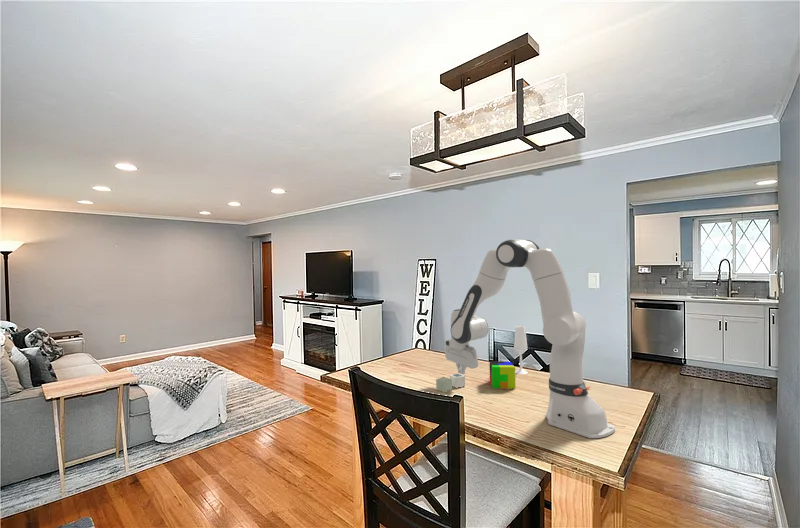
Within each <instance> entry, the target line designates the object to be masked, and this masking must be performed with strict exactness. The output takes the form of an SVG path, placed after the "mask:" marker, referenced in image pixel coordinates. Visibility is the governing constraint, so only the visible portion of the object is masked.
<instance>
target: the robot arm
mask: <svg viewBox="0 0 800 528" xmlns="http://www.w3.org/2000/svg"><path fill="white" fill-rule="evenodd" d="M511 268H527V269H528V270H529V272H530V275H531V278H532V281H533V284H534V288H535V290H536V291H535V292H536V293H537V297H538V301H539V303H540V304H539V305H540V311H541V312H540V313H541V319H542V325H543V327H542V333H543V336H544V339H546V340H547V342H548V343H550V344H552V346H551V352H550V355H549V377H548V378H549V379H548V389H549V397H548V399H549V400H548V406H547V411H546V414H545V418H546V419H547V424H548V425H550V426H553V427H557V428H559V429H562V430H565V431H568V432H571V433H573V434H577V435H580V436H582V437H586V438H588V439H599V438H600V439H601V438H604V437H608V436H611V435H612V434H614V432H615V431H616V427H615V425H613V424H611V423H609V422H608V419H607V414H606V411H605V410H604V409H603V407H602V406H600V405H599V404H598V402H596V400H595V399H594V398H592V396H590V394H589V392H588V391H589V390H591V386H586V383H585V381H584V366H583V365H584V351H585V341H586V340H585V339H586V326H587V323H586V320H585V318H584V317H583V315H581V314H580V313H579V312H576V311H574V310H573V306H572V299H571V298H572V297H571V291H570V287H569V285H568V282H567V279H566V276H565V274H564V271H563V267H562V266H561V263H560V261H559V259H558V258H557V256H556V254H555V252H554V251H553V250H552V249H550V248H545V247H543V248H542V247H541V248H540V247H539V245H538V244H537V243H536V242H534V241H532V240H529V239H521V238H520V239H519V238H518V239H517V238H516V239H507V240H504V241H502V242H501V243H500V244H499V245H498V246H497V247H496V248H492V249H490V250H489V251H487V253H486V255H485V257H484V259H483V261H482V263H481V266H480V269H479V271H478V274H477V277H476V279H475V281H474V283H473V284H472V286H471V287H470V288H469V290H468V291H467V294H466V296H465V298H464V301H463V302H462V305H461V308H458V309H454V310H453V311H452V312H451V316H450V334H451V335H450V339H446V340H444V345H445V347H444V353H445V359H446V360H447V361H449V362H450V361H451V362H453V363H455V366H456V368H457V373H459V374H461V375H465V374H466V369H467V368H469V369H477V368H478V367H479V358H478V353H477V351H476V349H475V347H473V346H471V342H472V341H476V340H481V339H483V338H485V337H486V336H488V333H489V325H488V323H487V320H485V318H483V317H480V316H477V315H475V314H476V312H477V309H478V307H479V306H480V305H481V304H482V303H483V302H485V301H486V300H487V299H489V298H491V297H494V296H495V295H498V293H499V292H500V291H501V290H502V288H503V286H504V284H505V281H506V277H507V276H508V275H507V274H508V271H509V270H510V269H511Z"/></svg>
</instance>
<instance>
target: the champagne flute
mask: <svg viewBox="0 0 800 528" xmlns="http://www.w3.org/2000/svg"><path fill="white" fill-rule="evenodd" d="M514 329H515V331H514V344H513V345H514V346H513V349H514V350H515V351H516V353H518V354H519V368H518V369H515V374H518V375H527V374H528V371H527V370H525V369H523V354H525V352H526V351H527V350H528V342H527V334H526V327H525V326H524V325H515V328H514Z"/></svg>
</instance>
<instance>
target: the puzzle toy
mask: <svg viewBox="0 0 800 528" xmlns="http://www.w3.org/2000/svg"><path fill="white" fill-rule="evenodd" d="M515 371H516V367H515V366H514V364H513V362H512V361H503V360H501V361H500V360H499V361H498V360H497V361H496V360H495V361H489V382H490V385H491V388H492V389H493V388H503V389H502V390H506V389H505V388H510V389H509V390H515V389H516V373H515ZM512 388H513V389H512ZM514 388H515V389H514Z"/></svg>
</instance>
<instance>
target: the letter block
mask: <svg viewBox="0 0 800 528" xmlns="http://www.w3.org/2000/svg"><path fill="white" fill-rule="evenodd" d="M449 379H452V386H453V387H452V388H454V387H456V388H457V389H459V388H458V387H461V388H464V387H463V386H465V387H466V375H465V374H460V373H458V372H457V373H453V374H449ZM456 388H455V389H456Z"/></svg>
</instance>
